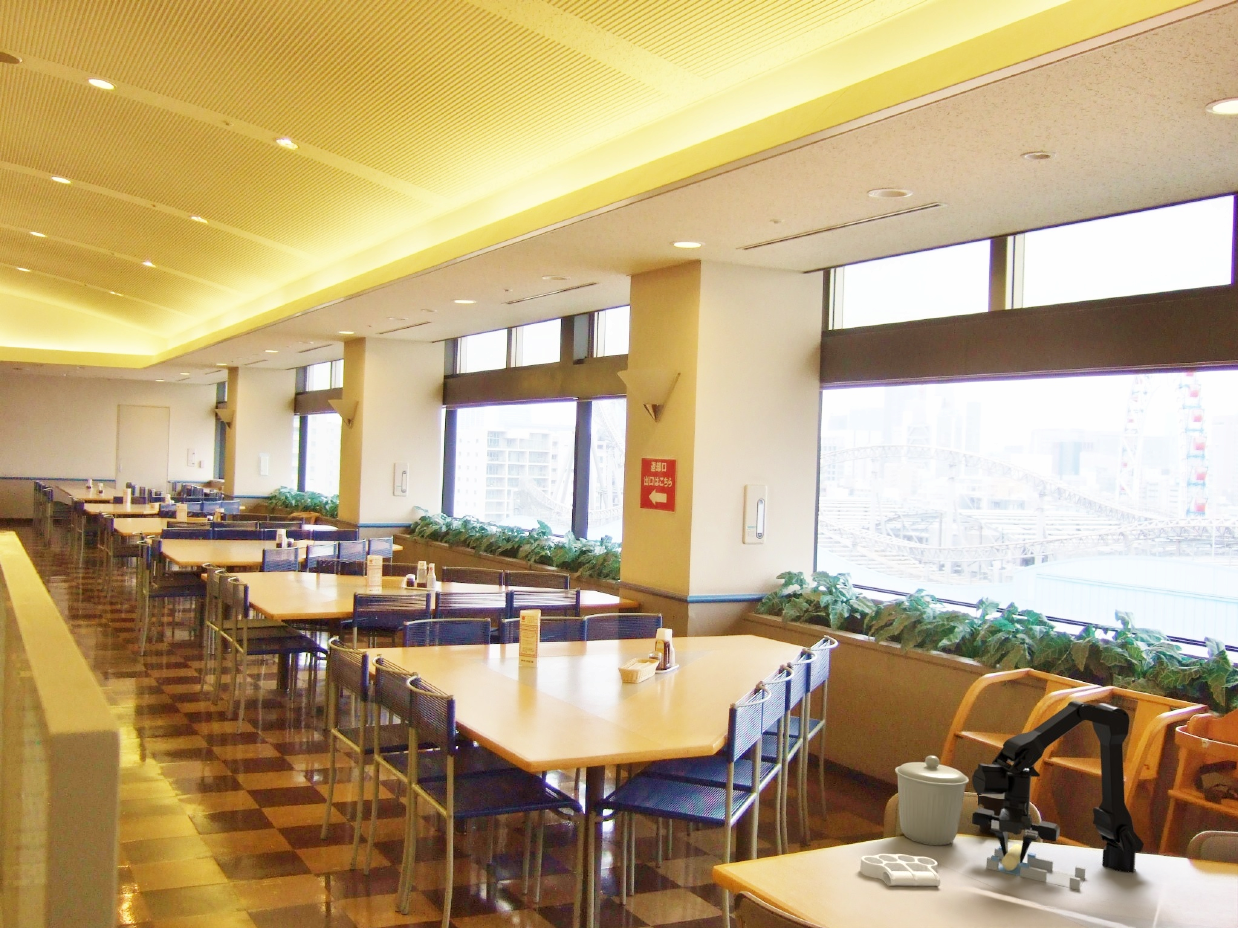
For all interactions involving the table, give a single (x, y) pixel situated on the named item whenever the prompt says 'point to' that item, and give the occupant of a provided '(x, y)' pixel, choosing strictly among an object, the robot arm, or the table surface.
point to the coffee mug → (990, 808)
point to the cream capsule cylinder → (1012, 857)
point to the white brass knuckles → (901, 869)
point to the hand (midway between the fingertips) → (1013, 860)
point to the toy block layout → (1038, 870)
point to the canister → (930, 801)
